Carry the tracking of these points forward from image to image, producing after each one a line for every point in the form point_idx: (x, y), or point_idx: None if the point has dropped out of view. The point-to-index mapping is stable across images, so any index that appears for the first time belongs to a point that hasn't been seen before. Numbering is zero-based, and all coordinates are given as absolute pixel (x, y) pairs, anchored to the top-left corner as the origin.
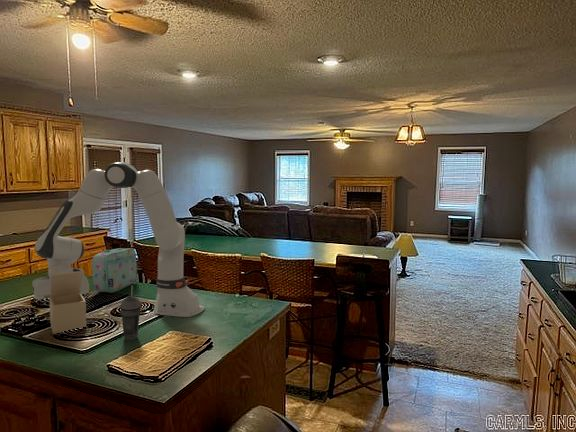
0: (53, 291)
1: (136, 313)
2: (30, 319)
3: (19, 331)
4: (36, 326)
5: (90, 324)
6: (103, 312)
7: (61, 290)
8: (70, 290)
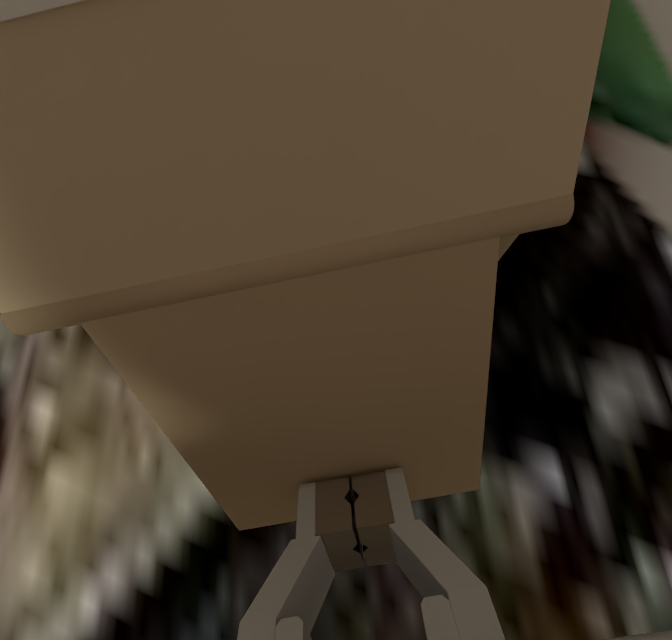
0: (516, 5)
1: None
2: (668, 540)
3: (650, 241)
4: (550, 314)
5: None
6: (48, 500)
7: (327, 51)
8: (142, 147)
